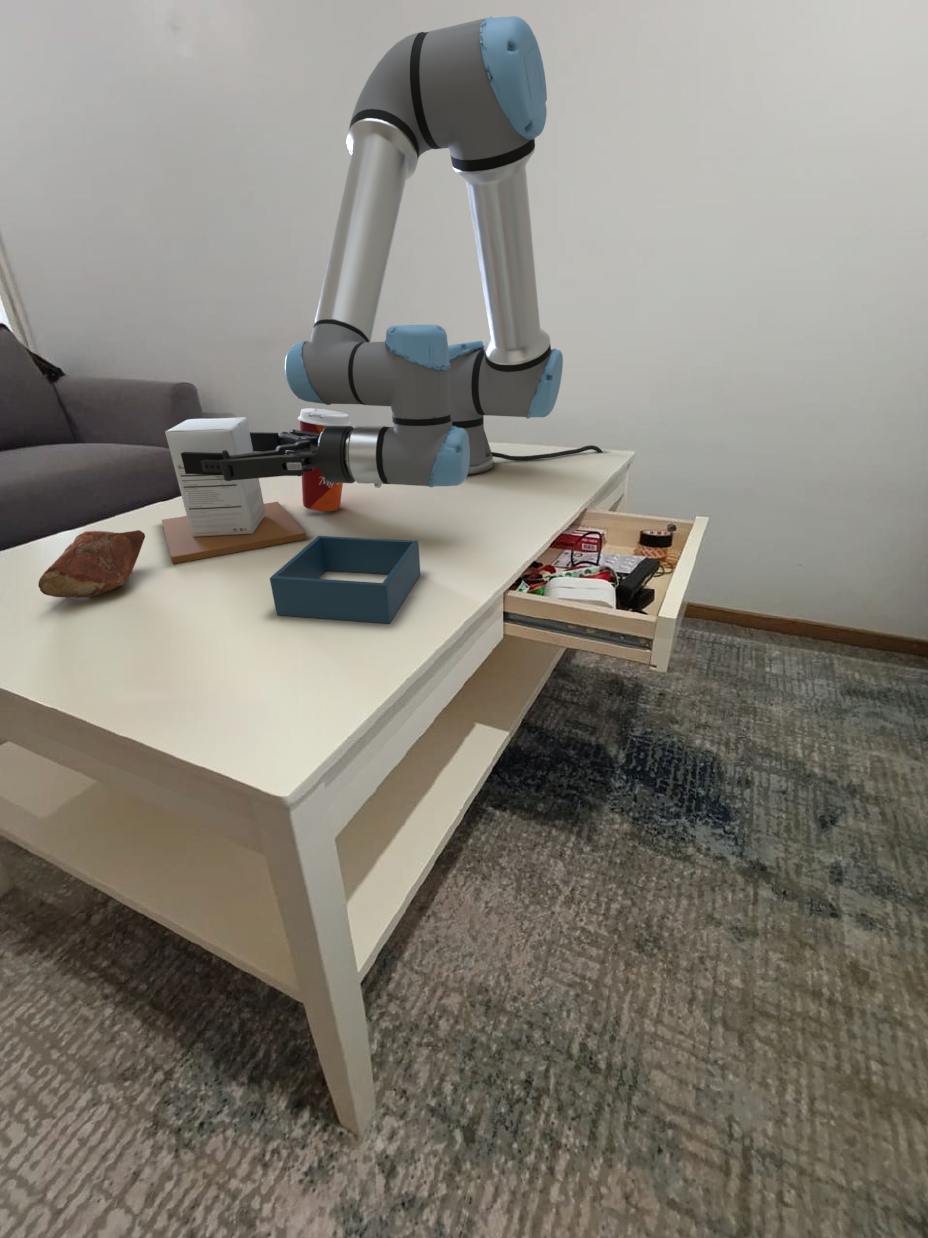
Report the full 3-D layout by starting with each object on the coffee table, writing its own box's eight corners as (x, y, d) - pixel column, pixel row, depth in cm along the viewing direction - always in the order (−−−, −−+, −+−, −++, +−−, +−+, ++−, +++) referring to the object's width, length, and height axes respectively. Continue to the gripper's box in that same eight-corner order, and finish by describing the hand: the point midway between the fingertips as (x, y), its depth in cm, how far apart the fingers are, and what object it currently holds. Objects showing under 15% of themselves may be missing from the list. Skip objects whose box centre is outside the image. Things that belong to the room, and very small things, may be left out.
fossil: (143, 535, 78) (107, 486, 69) (180, 574, 76) (148, 529, 67) (53, 593, 73) (1, 549, 64) (89, 637, 71) (41, 597, 62)
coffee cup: (335, 516, 94) (340, 418, 87) (286, 506, 95) (288, 409, 88) (354, 505, 101) (360, 414, 95) (309, 496, 102) (312, 406, 96)
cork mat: (278, 507, 100) (277, 501, 99) (306, 539, 86) (305, 532, 85) (163, 525, 92) (161, 519, 92) (172, 564, 78) (170, 557, 78)
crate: (420, 574, 74) (418, 540, 72) (389, 623, 62) (386, 585, 60) (323, 568, 76) (318, 535, 74) (276, 615, 65) (269, 577, 63)
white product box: (209, 517, 92) (185, 418, 85) (267, 515, 93) (248, 415, 86) (189, 538, 84) (162, 430, 77) (253, 534, 85) (231, 427, 78)
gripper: (321, 510, 71) (165, 503, 75) (386, 461, 92) (262, 457, 96) (312, 446, 67) (148, 442, 71) (381, 410, 89) (253, 409, 92)
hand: (213, 451), depth 84 cm, fingers open, 13 cm apart
